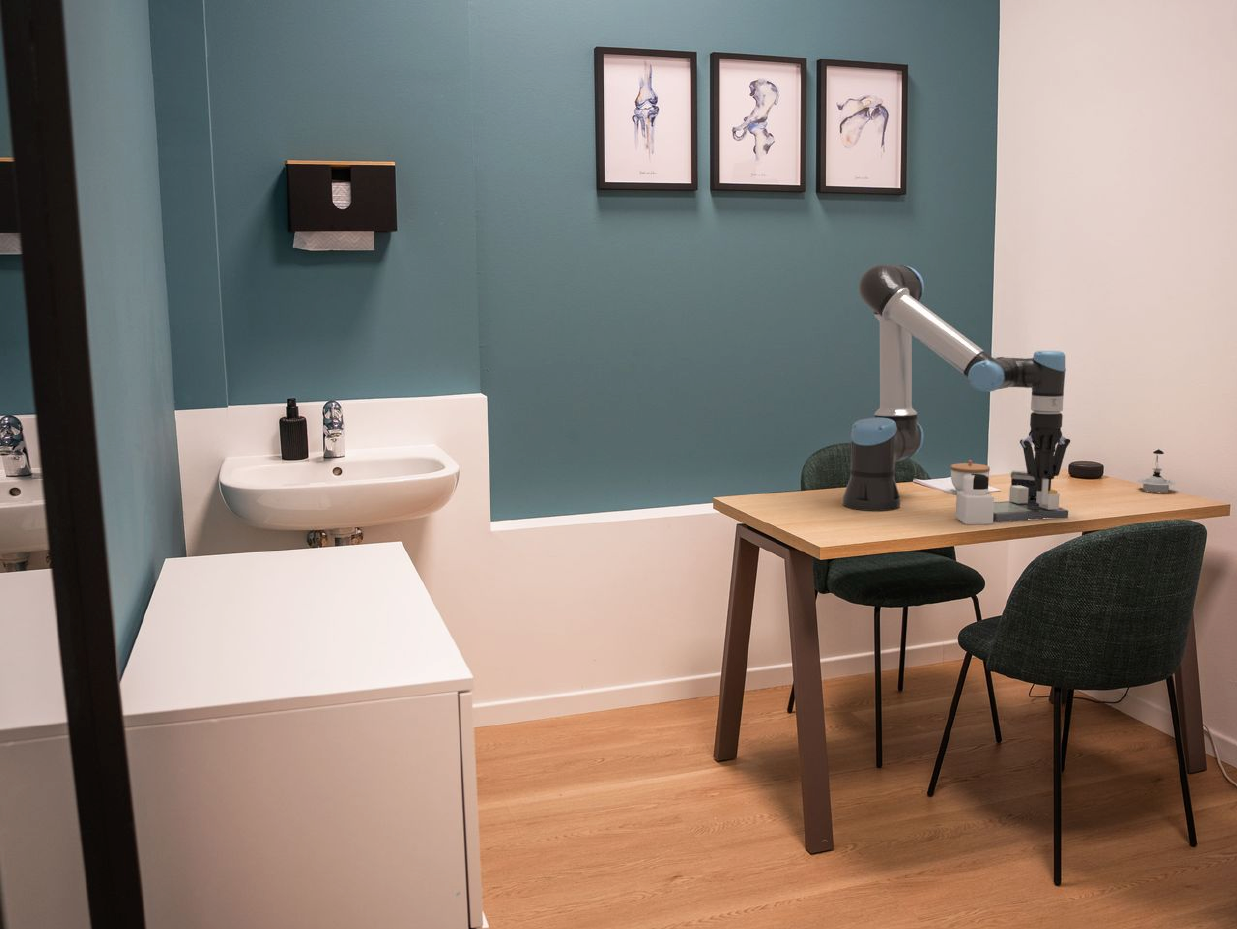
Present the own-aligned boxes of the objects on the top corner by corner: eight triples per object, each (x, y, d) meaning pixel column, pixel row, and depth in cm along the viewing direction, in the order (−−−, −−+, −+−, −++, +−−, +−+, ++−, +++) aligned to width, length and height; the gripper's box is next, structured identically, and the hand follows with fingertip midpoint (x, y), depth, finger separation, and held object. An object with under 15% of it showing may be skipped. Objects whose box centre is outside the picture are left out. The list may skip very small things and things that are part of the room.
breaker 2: (1047, 509, 265) (1049, 491, 264) (1038, 506, 269) (1040, 489, 268) (1058, 508, 265) (1059, 491, 265) (1049, 505, 269) (1050, 488, 269)
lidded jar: (983, 489, 305) (985, 457, 303) (992, 496, 294) (994, 463, 293) (946, 488, 306) (947, 457, 304) (953, 495, 295) (955, 463, 294)
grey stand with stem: (1185, 451, 293) (1167, 446, 303) (1150, 451, 293) (1132, 446, 303) (1182, 494, 295) (1163, 487, 305) (1146, 494, 295) (1129, 488, 305)
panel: (996, 521, 262) (996, 514, 261) (967, 510, 275) (968, 503, 275) (1067, 518, 265) (1068, 510, 265) (1036, 507, 279) (1036, 499, 278)
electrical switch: (1047, 504, 283) (1048, 471, 280) (1043, 509, 278) (1044, 476, 276) (1011, 501, 288) (1012, 468, 285) (1007, 506, 283) (1008, 473, 281)
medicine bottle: (982, 518, 266) (984, 472, 264) (993, 524, 259) (995, 477, 257) (955, 518, 266) (957, 472, 264) (965, 524, 259) (967, 477, 257)
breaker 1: (1017, 503, 273) (1018, 488, 272) (1009, 500, 276) (1009, 485, 276) (1027, 503, 273) (1028, 488, 272) (1019, 500, 277) (1020, 485, 276)
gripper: (1031, 414, 258) (1026, 507, 262) (1079, 412, 260) (1073, 505, 264) (1015, 411, 265) (1010, 501, 269) (1061, 409, 267) (1056, 499, 271)
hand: (1041, 503), depth 266 cm, fingers closed
